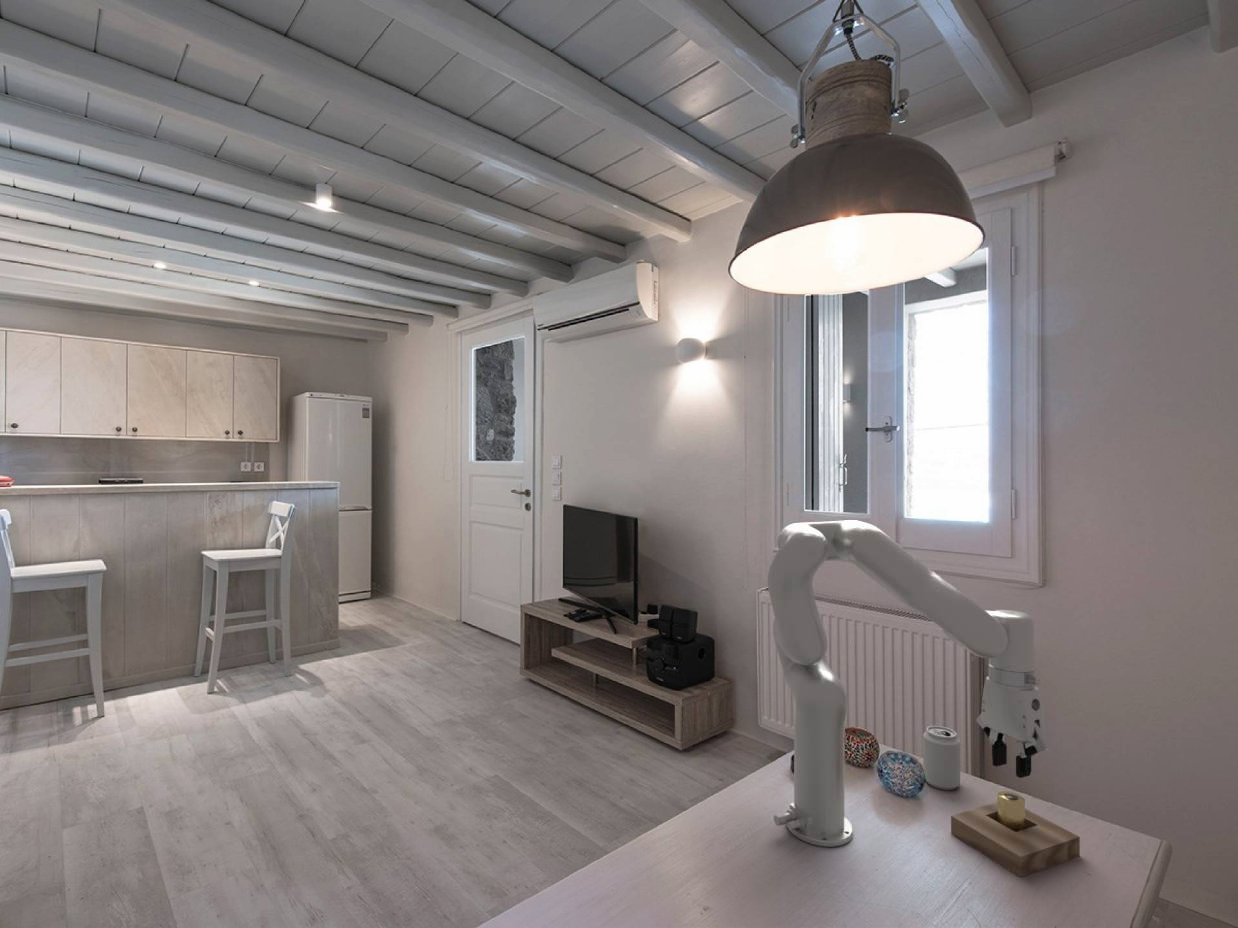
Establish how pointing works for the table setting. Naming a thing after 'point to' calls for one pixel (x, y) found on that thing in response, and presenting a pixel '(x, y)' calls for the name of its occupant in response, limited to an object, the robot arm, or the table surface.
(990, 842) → the block
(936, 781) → the can
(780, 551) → the robot arm
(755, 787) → the table surface
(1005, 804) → the bushing
